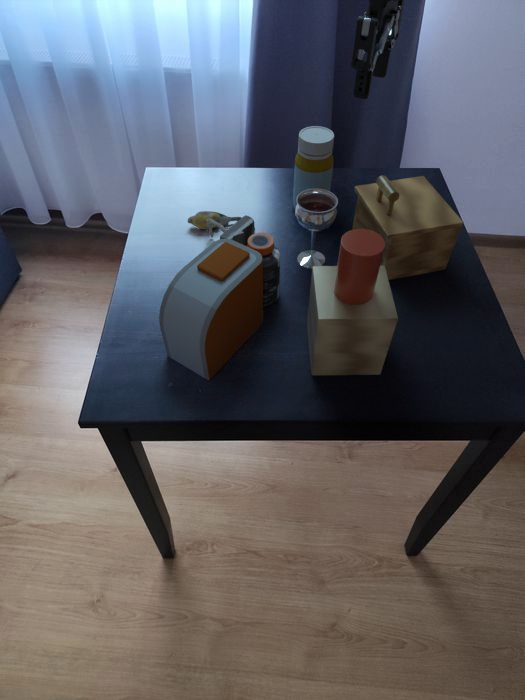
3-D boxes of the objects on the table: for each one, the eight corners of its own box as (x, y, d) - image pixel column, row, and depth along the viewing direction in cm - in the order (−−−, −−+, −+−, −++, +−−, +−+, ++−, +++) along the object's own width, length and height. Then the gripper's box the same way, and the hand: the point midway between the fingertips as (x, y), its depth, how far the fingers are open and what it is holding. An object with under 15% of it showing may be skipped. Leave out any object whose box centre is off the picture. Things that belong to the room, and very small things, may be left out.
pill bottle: (284, 288, 80) (287, 233, 71) (270, 312, 77) (271, 257, 68) (253, 278, 82) (251, 223, 73) (237, 301, 78) (233, 246, 70)
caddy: (381, 281, 81) (392, 238, 74) (351, 232, 90) (358, 189, 83) (445, 269, 83) (461, 226, 76) (410, 222, 91) (422, 179, 84)
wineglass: (303, 276, 82) (307, 217, 73) (285, 252, 86) (288, 194, 77) (337, 265, 84) (346, 206, 74) (318, 243, 88) (325, 184, 78)
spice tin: (378, 284, 63) (390, 235, 57) (366, 310, 60) (377, 261, 54) (341, 273, 65) (349, 223, 59) (327, 297, 62) (334, 248, 56)
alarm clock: (226, 297, 79) (220, 229, 68) (268, 318, 76) (268, 251, 65) (165, 354, 71) (147, 288, 61) (209, 381, 68) (199, 316, 58)
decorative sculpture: (186, 227, 91) (181, 193, 85) (231, 211, 94) (228, 177, 88) (226, 276, 82) (223, 242, 76) (274, 257, 85) (274, 222, 79)
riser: (369, 323, 75) (384, 265, 66) (380, 374, 69) (398, 318, 59) (306, 324, 75) (312, 265, 66) (311, 375, 69) (318, 319, 59)
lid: (386, 239, 74) (393, 211, 70) (354, 190, 82) (358, 162, 78) (462, 226, 76) (472, 198, 72) (422, 179, 84) (430, 152, 80)
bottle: (334, 212, 94) (344, 138, 82) (305, 223, 91) (311, 148, 80) (314, 194, 97) (321, 121, 86) (285, 205, 95) (288, 131, 84)
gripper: (406, -36, 54) (380, 110, 66) (435, -62, 62) (407, 73, 75) (343, -43, 56) (329, 100, 69) (380, -67, 64) (361, 65, 77)
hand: (370, 86), depth 72 cm, fingers open, 8 cm apart
